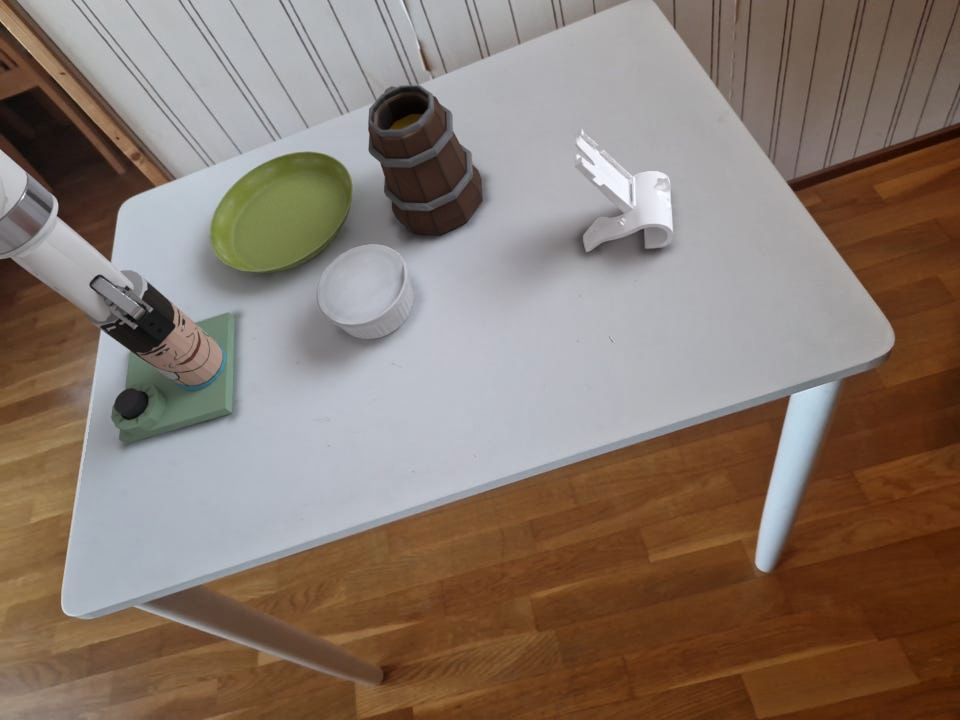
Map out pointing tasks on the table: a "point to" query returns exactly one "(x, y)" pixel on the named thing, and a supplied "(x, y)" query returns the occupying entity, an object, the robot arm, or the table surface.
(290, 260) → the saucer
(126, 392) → the button
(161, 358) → the cup
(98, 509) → the table surface
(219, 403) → the scale
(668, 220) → the plastic part
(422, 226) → the mug
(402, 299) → the ramekin
